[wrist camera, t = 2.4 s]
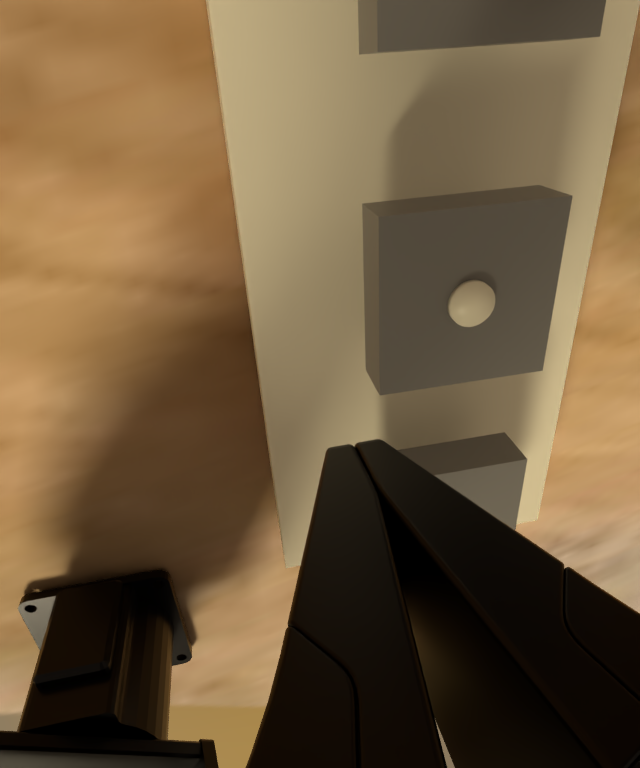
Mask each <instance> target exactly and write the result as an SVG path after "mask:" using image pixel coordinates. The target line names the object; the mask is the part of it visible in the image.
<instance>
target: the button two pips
mask: <svg viewBox="0 0 640 768" xmlns="http://www.w3.org/2000/svg"><path fill="white" fill-rule="evenodd" d="M605 5H606V0H358V29H359V55H361V54H376V53H390V52H405V51H419V50H433V49H448V48H462V47H477V46H491V45H506V44H520V43H534V42H549V41H562V40H572V39H582V38H592V37H600V34H601V28H602V22H603V16H604V10H605Z"/></svg>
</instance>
